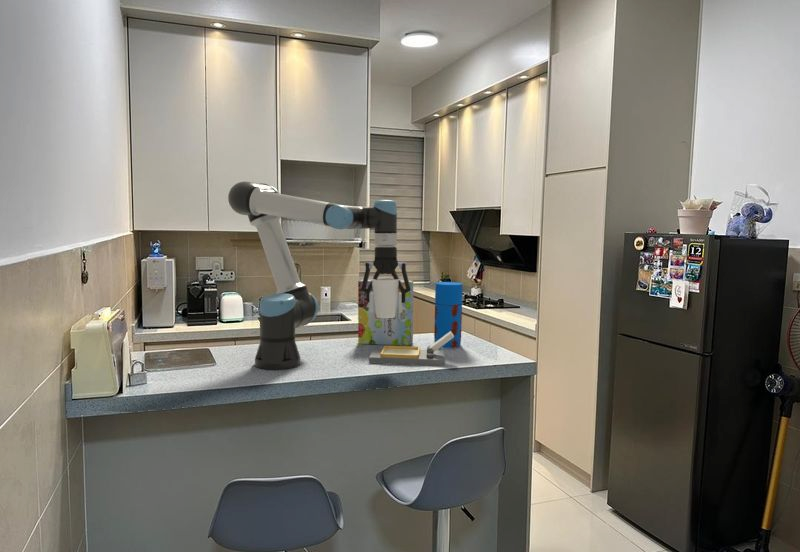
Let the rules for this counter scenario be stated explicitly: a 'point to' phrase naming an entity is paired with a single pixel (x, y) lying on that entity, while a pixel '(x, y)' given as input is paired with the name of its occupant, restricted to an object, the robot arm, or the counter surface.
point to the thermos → (448, 312)
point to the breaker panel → (406, 355)
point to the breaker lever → (440, 343)
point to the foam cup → (385, 296)
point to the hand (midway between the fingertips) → (385, 312)
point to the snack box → (385, 321)
